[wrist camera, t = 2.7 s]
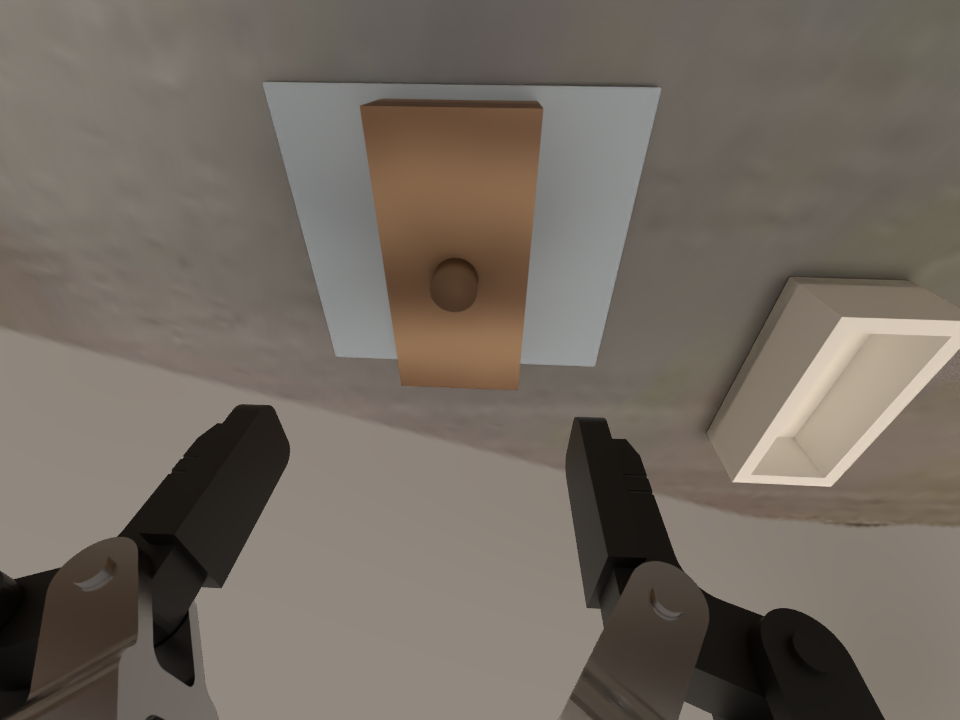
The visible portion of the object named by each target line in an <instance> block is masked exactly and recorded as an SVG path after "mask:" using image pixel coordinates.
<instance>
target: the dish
mask: <svg viewBox="0 0 960 720" xmlns="http://www.w3.org/2000/svg"><path fill="white" fill-rule="evenodd" d="M959 349H960V308H959V307H957V306H955V305H953V304H951V303H950V302H948V301H946V300H944V299H942V298H940V297H939V296H937V295H935V294H933V293H931V292H930V291H928V290H926V289H924V288H922V287H920V286H919V285H917V284H915V283H913V282H911V281H910V280H881V279H847V278H814V277H789V279H788V281H787V283H786V285H785V286H784V288H783V290H782V292H781V294H780V296H779V298H778V300H777V301H776V303H775V305H774V307H773V309H772V311H771V313H770V315H769V316H768V318H767V320H766V322H765V324H764V326H763V328H762V330H761V332H760V333H759V335H758V337H757V339H756V341H755V343H754V345H753V347H752V348H751V350H750V352H749V354H748V356H747V358H746V360H745V362H744V363H743V365H742V367H741V369H740V371H739V373H738V375H737V377H736V379H735V380H734V382H733V384H732V386H731V388H730V390H729V392H728V394H727V395H726V397H725V399H724V401H723V403H722V405H721V407H720V409H719V410H718V412H717V414H716V416H715V418H714V420H713V422H712V424H711V426H710V427H709V429H708V431H707V433H706V434H707V436H708V438H709V440H710V441H711V443H712V445H713V447H714V449H715V451H716V453H717V454H718V456H719V458H720V460H721V462H722V464H723V466H724V468H725V469H726V471H727V473H728V475H729V477H730V479H731V481H732V482H743V483H765V484H786V485H807V486H828V487H831V486H832V485H833V484H834V483H835V482H836V481H837V480H838V479H839V478H840V476H841V475H842V474H843V473H844V472H845V471H846V470H847V469H848V468H849V467H850V466H851V465H852V464H853V462H854V461H855V460H856V459H857V458H858V457H859V456H860V455H861V454H862V453H863V452H864V451H865V450H866V449H867V447H868V446H869V445H870V444H871V443H872V442H873V441H874V440H875V439H876V438H877V437H878V436H879V435H880V433H881V432H882V431H883V430H884V429H885V428H886V427H887V426H888V425H889V424H890V423H891V422H892V421H893V420H894V418H895V417H896V416H897V415H898V414H899V413H900V412H901V411H902V410H903V409H904V408H905V407H906V406H907V404H908V403H909V402H910V401H911V400H912V399H913V398H914V397H915V396H916V395H917V394H918V393H919V392H920V391H921V389H922V388H923V387H924V386H925V385H926V384H927V383H928V382H929V381H930V380H931V379H932V378H933V377H934V375H935V374H936V373H937V372H938V371H939V370H940V369H941V368H942V367H943V366H944V365H945V364H946V363H947V361H948V360H949V359H950V358H951V357H952V356H953V355H954V354H955V353H956V352H957V351H958V350H959Z"/></svg>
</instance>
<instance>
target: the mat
mask: <svg viewBox="0 0 960 720" xmlns="http://www.w3.org/2000/svg"><path fill="white" fill-rule="evenodd" d="M262 83H263V87H264V91H265V94H266V98H267V102H268V105H269V109H270V113H271V117H272V120H273V124H274V128H275V131H276V135H277V139H278V143H279V146H280V150H281V154H282V157H283V161H284V165H285V169H286V172H287V176H288V180H289V184H290V187H291V191H292V195H293V198H294V202H295V206H296V210H297V213H298V217H299V221H300V224H301V228H302V232H303V236H304V239H305V243H306V247H307V250H308V254H309V258H310V262H311V265H312V269H313V273H314V277H315V280H316V284H317V288H318V291H319V295H320V299H321V303H322V306H323V310H324V314H325V317H326V321H327V325H328V329H329V332H330V336H331V340H332V343H333V347H334V351H335V355H336V357H356V358H382V359H397V352H396V345H395V339H394V332H393V325H392V319H391V312H390V305H389V299H388V292H387V285H386V279H385V272H384V265H383V258H382V252H381V245H380V238H379V232H378V225H377V218H376V212H375V205H374V198H373V192H372V185H371V178H370V172H369V165H368V158H367V152H366V145H365V138H364V132H363V125H362V118H361V112H360V105H363V104H366V103H369V102H372V101H375V100H378V99H439V100H504V101H538V102H539V103H540V105H541V106H542V107H543V120H542V131H541V142H540V153H539V164H538V174H537V185H536V196H535V207H534V218H533V229H532V240H531V251H530V262H529V273H528V284H527V295H526V306H525V317H524V328H523V339H522V350H521V361H520V364H541V365H567V366H594V367H595V364H596V360H597V355H598V351H599V347H600V343H601V339H602V335H603V330H604V326H605V322H606V318H607V314H608V309H609V305H610V301H611V297H612V293H613V289H614V284H615V280H616V276H617V272H618V268H619V264H620V259H621V255H622V251H623V247H624V243H625V239H626V234H627V230H628V226H629V222H630V218H631V214H632V209H633V205H634V201H635V197H636V193H637V189H638V184H639V180H640V176H641V172H642V168H643V164H644V159H645V155H646V151H647V147H648V143H649V138H650V134H651V130H652V126H653V122H654V118H655V113H656V109H657V105H658V101H659V97H660V93H661V87H628V86H556V85H484V84H413V83H341V82H269V81H268V82H262Z"/></svg>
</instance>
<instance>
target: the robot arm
mask: <svg viewBox="0 0 960 720" xmlns="http://www.w3.org/2000/svg"><path fill="white" fill-rule="evenodd" d="M289 456H290V446H289V442H288V439H287V437H286V435H285V433H284V430H283V428H282V425H281V423H280V421H279V419H278V416H277V414H276V411H275V409H274V408H273V407H272V406H270V405H246V404H241V405H238V406H236V407H235V408H234V409H233V411H232V412H231V413H230V414H229V416H228V417H227V418H226V420H225V421H224V422H223V423H222V424H220V423H217V424H216V425H215V426H213V427H212V428H210V429H209V430H208V431H206V432H205V433H204V434H202V435H201V436H200V437H198V438H197V439H196V441H195V442H194V443H193V444H192V446H191V447H190V448H189V449H188V450H187V452H186V453H185V454H184V458H183V459H180V461H179V462H178V463H177V464H176V466H175V467H174V468H173V469H172V473H171V474H168V475H167V477H166V478H165V479H164V480H163V481H162V483H161V484H160V485H159V487H158V488H157V489H156V490H155V492H154V493H153V494H152V495H151V496H150V498H149V499H148V500H147V501H146V503H145V504H144V505H143V506H142V508H141V509H140V510H139V511H138V512H137V514H136V515H135V516H134V517H133V519H132V520H131V521H130V522H129V524H128V525H127V526H126V527H125V529H124V530H123V531H122V532H121V533H120V534H119V535H118V536H117V537H114V538H109V539H105V540H102V541H99V542H97V543H95V544H93V545H91V546H89V547H87V548H85V549H84V550H82V551H80V552H79V553H78V554H76V555H75V556H73V557H72V558H71V559H70V560H69V561H67V563H65V564H64V565H63V566H62V567H61V568H57V569H53V570H49V571H45V572H41V573H37V574H33V575H29V576H26V577H21V578H17V579H12V578H10V577H9V576H7V575H6V574H4V573H3V572H1V571H0V720H219V718H218V714H217V711H216V709H215V706H214V704H213V702H212V700H211V699H210V697H209V694H208V692H207V688H206V683H205V675H204V666H203V657H202V648H201V639H200V630H199V621H198V612H197V606H196V603H195V601H194V599H195V597H196V595H197V594H198V592H199V590H200V588H201V587H209V588H222V586H223V584H224V583H225V580H226V579H227V577H228V575H229V573H230V571H231V569H232V567H233V565H234V564H235V562H236V560H237V558H238V556H239V554H240V552H241V551H242V549H243V547H244V545H245V543H246V541H247V539H248V537H249V535H250V534H251V532H252V530H253V528H254V526H255V524H256V522H257V520H258V519H259V517H260V515H261V513H262V511H263V509H264V507H265V505H266V503H267V502H268V500H269V498H270V496H271V494H272V492H273V490H274V488H275V486H276V485H277V483H278V481H279V479H280V477H281V475H282V473H283V471H284V469H285V468H286V465H287V463H288V460H289ZM646 476H647V474H646V472H645V469H644V466H643V463H642V460H641V457H640V455H639V454H638V453H637V452H636V451H635V449H634V448H633V447H632V446H631V445H630V444H629V442H628V441H627V440H626V439H612V437H611V434H610V430H609V427H608V424H607V421H606V419H605V418H592V417H575V418H574V421H573V425H572V430H571V435H570V439H569V444H568V449H567V453H566V479H567V485H568V491H569V498H570V504H571V511H572V517H573V524H574V530H575V536H576V542H577V549H578V555H579V562H580V568H581V574H582V581H583V587H584V594H585V600H586V606H587V608H599V609H601V613H602V620H603V625H604V629H603V631H602V633H601V635H600V637H599V639H598V641H597V643H596V645H595V647H594V649H593V651H592V653H591V655H590V657H589V659H588V661H587V663H586V665H585V667H584V669H583V671H582V673H581V675H580V677H579V679H578V681H577V683H576V685H575V687H574V689H573V691H572V693H571V695H570V697H569V699H568V701H567V703H566V705H565V707H564V709H563V711H562V713H561V715H560V717H559V719H558V720H678V719H679V715H680V712H681V709H682V706H683V703H684V701H685V702H687V703H689V704H691V705H694V706H696V707H698V708H700V709H702V710H704V711H707V712H709V713H711V714H712V716H713V719H714V720H885V719H884V717H883V715H882V714H881V712H880V710H879V708H878V706H877V704H876V702H875V700H874V698H873V697H872V695H871V693H870V691H869V689H868V687H867V686H866V684H865V682H864V680H863V678H862V676H861V674H860V672H859V671H858V669H857V667H856V665H855V663H854V661H853V659H852V658H851V656H850V654H849V653H848V651H847V650H846V649H845V647H844V646H843V644H842V643H841V642H840V641H839V640H838V639H837V638H836V637H835V635H834V634H833V633H832V632H831V631H829V630H828V629H827V628H826V627H825V626H824V625H822V624H821V623H820V622H818V621H817V620H815V619H813V618H812V617H810V616H808V615H806V614H804V613H802V612H799V611H796V610H792V609H788V608H779V609H774V610H772V611H770V612H768V613H767V614H766V615H765V616H762V615H759V614H756V613H754V612H751V611H749V610H746V609H743V608H740V607H738V606H735V605H733V604H730V603H727V602H725V601H722V600H720V599H718V598H715V597H713V596H711V595H710V594H708V593H706V592H705V591H704V590H702V589H701V588H699V587H698V586H697V584H696V583H695V582H694V581H693V580H692V579H691V578H690V577H689V576H688V575H687V574H686V573H685V572H684V571H683V570H682V568H681V566H680V565H679V563H678V561H677V559H676V556H675V554H674V551H673V548H672V546H671V543H670V540H669V537H668V534H667V531H666V528H665V526H664V523H663V520H662V517H661V514H660V512H659V508H658V506H657V503H656V500H655V497H654V495H652V489H651V486H650V483H649V480H648V479H647V477H646Z"/></svg>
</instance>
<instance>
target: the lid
mask: <svg viewBox="0 0 960 720" xmlns="http://www.w3.org/2000/svg"><path fill="white" fill-rule="evenodd" d="M360 112H361V118H362V125H363V132H364V138H365V145H366V152H367V158H368V165H369V172H370V178H371V185H372V192H373V198H374V205H375V212H376V218H377V225H378V232H379V238H380V245H381V252H382V258H383V265H384V272H385V279H386V285H387V292H388V299H389V305H390V312H391V319H392V325H393V332H394V339H395V345H396V352H397V359H398V365H399V372H400V379H401V385H402V386H425V387H450V388H475V389H500V390H518V383H519V372H520V361H521V350H522V339H523V328H524V317H525V306H526V295H527V284H528V273H529V262H530V251H531V240H532V229H533V218H534V207H535V196H536V185H537V174H538V164H539V153H540V142H541V131H542V120H543V107H542V106H541V105H540V103H539V102H538V101H504V100H439V99H378V100H375V101H372V102H369V103H366V104H363V105H360Z"/></svg>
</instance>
